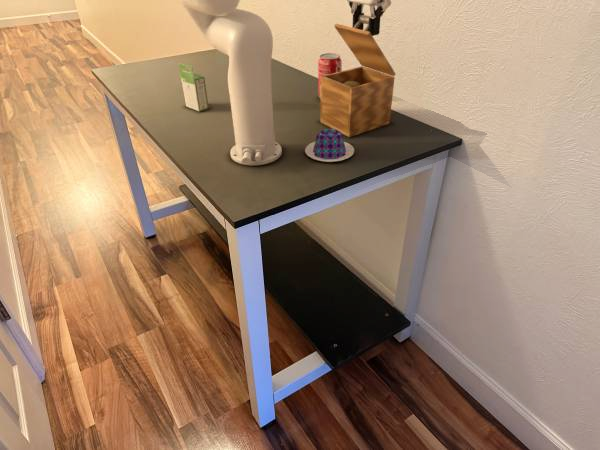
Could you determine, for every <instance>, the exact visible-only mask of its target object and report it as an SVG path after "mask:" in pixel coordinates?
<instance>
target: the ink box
mask: <svg viewBox="0 0 600 450" xmlns="http://www.w3.org/2000/svg"><path fill="white" fill-rule="evenodd" d="M177 64H178V68H179V74H180V81H181V85H182V91H183V96H184V101H185V107H187V108H190V109H192V110H194V111H197V112H203V111H206V110H208V109H209V108H210V107H209V100H208V92H207V85H206V78H205V76H204V75H201V74H198V73H194V69H193V66H192V65H188V64H185V63H181V62H178V63H177ZM184 68H186V69H187V70H189V71H186V70H183V69H184Z"/></svg>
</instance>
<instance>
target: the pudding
mask: <svg viewBox="0 0 600 450" xmlns="http://www.w3.org/2000/svg"><path fill="white" fill-rule="evenodd" d="M343 135H344V134H342V133H341V132H340V131H338V130H337V129H332V128H326V129H325V128H323V129H321V130H320V131H318V133H317V134H316V136H315V137H316V138H315V141H313V142H311V143H309V144H308V145H307V146H306V147H305V149H304V153H305V154H306V156H307V157H310V158H311V159H313V160H315V161H319V162H326V163H333V162H341V161H344V160H346V159H349V158H350V157H352V156H353V155H354V153H355V148H354V146H353V145H352V144H350V143H348V142H346V141H345V140H344V136H343Z"/></svg>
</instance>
